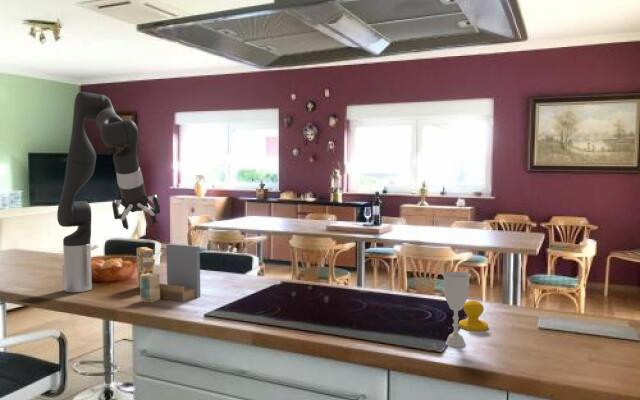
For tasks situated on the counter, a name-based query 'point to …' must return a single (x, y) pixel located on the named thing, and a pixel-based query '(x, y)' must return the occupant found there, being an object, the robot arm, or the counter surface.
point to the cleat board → (182, 273)
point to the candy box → (144, 262)
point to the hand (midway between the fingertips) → (140, 226)
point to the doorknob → (473, 317)
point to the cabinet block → (149, 287)
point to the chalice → (456, 301)
